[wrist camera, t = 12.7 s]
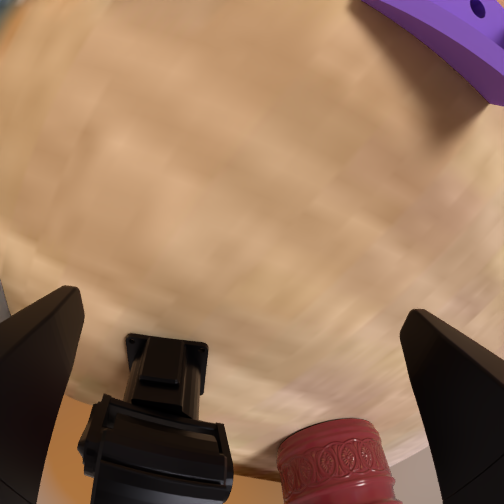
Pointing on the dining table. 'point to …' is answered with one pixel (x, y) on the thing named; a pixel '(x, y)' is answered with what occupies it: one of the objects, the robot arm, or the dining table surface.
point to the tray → (3, 306)
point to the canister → (335, 465)
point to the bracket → (458, 36)
